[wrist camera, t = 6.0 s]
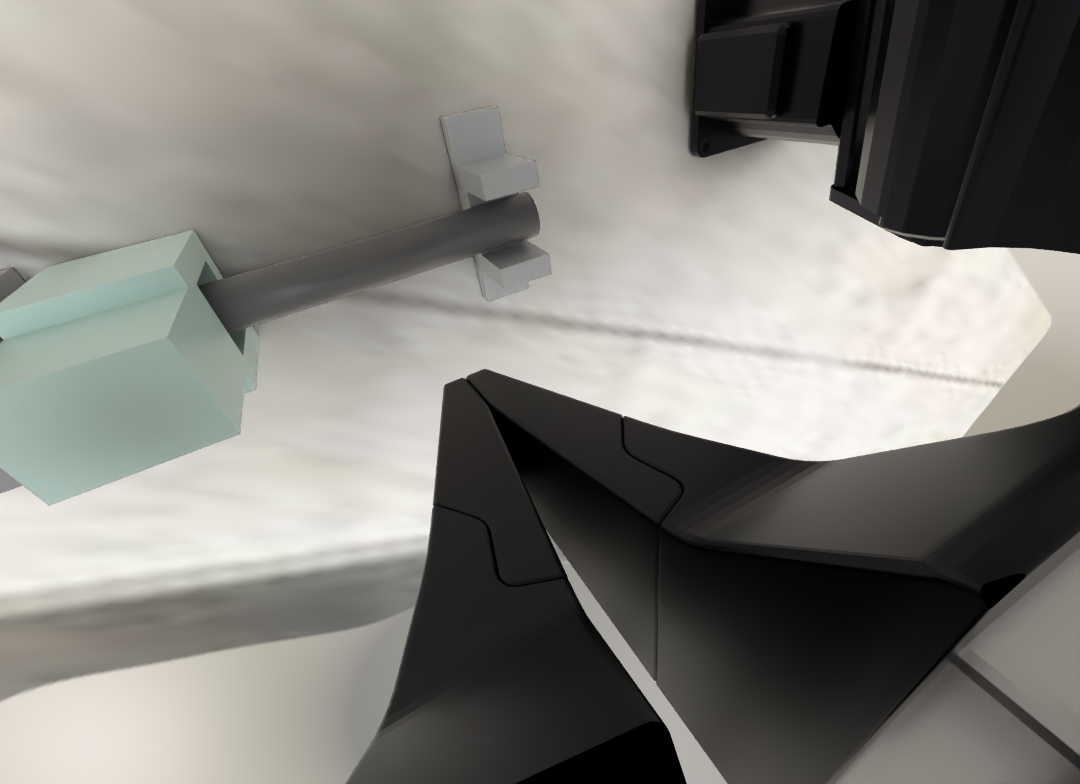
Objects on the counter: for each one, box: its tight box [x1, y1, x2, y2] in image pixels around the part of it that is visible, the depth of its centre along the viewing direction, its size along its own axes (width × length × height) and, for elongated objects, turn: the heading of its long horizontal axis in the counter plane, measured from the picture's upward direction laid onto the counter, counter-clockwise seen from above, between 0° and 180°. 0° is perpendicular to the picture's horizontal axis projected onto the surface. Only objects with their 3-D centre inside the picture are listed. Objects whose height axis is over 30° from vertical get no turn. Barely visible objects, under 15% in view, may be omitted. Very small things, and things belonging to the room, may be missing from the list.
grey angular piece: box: [0, 106, 551, 493], centre depth 15 cm, size 18×7×4 cm, turn 99°
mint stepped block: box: [0, 229, 259, 506], centre depth 12 cm, size 4×4×7 cm
